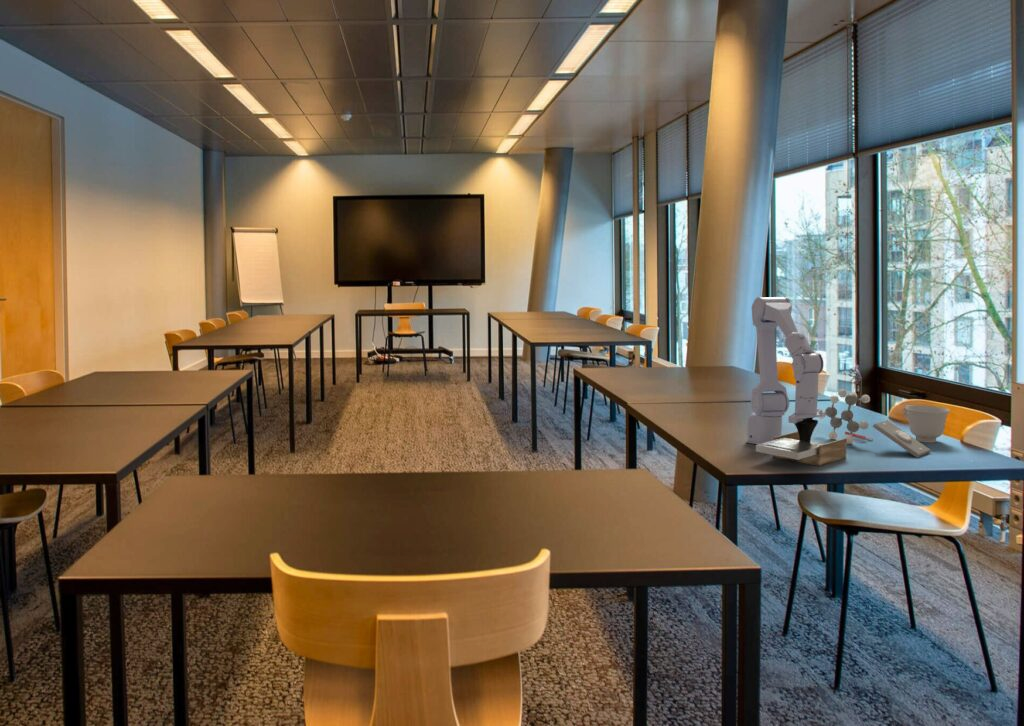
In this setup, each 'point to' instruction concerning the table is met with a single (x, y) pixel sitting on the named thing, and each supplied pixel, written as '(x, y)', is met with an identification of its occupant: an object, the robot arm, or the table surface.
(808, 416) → the robot arm
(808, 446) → the cover plate
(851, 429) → the molecule model
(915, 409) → the teacup
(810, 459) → the oak box
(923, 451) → the light switch
